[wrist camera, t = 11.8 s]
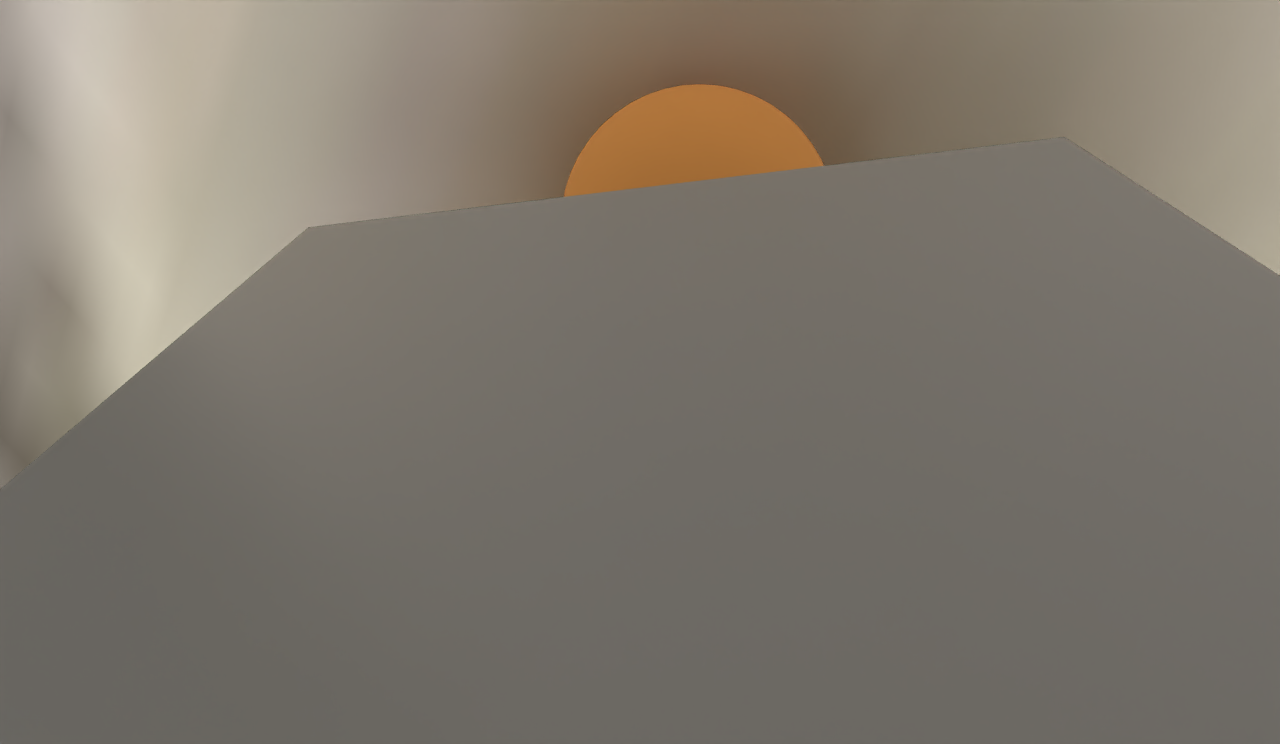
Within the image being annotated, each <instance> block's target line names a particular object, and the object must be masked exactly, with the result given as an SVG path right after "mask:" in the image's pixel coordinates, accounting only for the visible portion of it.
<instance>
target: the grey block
mask: <svg viewBox="0 0 1280 744" xmlns="http://www.w3.org/2000/svg"><path fill="white" fill-rule="evenodd" d="M0 744H1280V275H1278V274H1277V273H1275V272H1273V271H1272V270H1270V269H1269V268H1267V267H1266V266H1264V265H1263V264H1261V263H1259V262H1258V261H1256V260H1255V259H1253V258H1252V257H1250V256H1249V255H1247V254H1245V253H1244V252H1242V251H1241V250H1239V249H1238V248H1236V247H1235V246H1233V245H1231V244H1230V243H1228V242H1227V241H1225V240H1224V239H1222V238H1221V237H1219V236H1217V235H1216V234H1214V233H1213V232H1211V231H1210V230H1208V229H1207V228H1205V227H1204V226H1202V225H1200V224H1199V223H1197V222H1196V221H1194V220H1193V219H1191V218H1190V217H1188V216H1186V215H1185V214H1183V213H1182V212H1180V211H1179V210H1177V209H1176V208H1174V207H1172V206H1171V205H1169V204H1168V203H1166V202H1165V201H1163V200H1162V199H1160V198H1158V197H1157V196H1155V195H1154V194H1152V193H1151V192H1149V191H1148V190H1146V189H1144V188H1143V187H1141V186H1140V185H1138V184H1137V183H1135V182H1134V181H1132V180H1130V179H1129V178H1127V177H1126V176H1124V175H1123V174H1121V173H1120V172H1118V171H1117V170H1115V169H1113V168H1112V167H1110V166H1109V165H1107V164H1106V163H1104V162H1103V161H1101V160H1099V159H1098V158H1096V157H1095V156H1093V155H1092V154H1090V153H1089V152H1087V151H1085V150H1084V149H1082V148H1081V147H1079V146H1078V145H1076V144H1075V143H1073V142H1071V141H1070V140H1068V139H1067V138H1065V137H1060V138H1052V139H1044V140H1035V141H1027V142H1019V143H1010V144H1002V145H993V146H985V147H977V148H968V149H960V150H952V151H943V152H935V153H927V154H918V155H910V156H902V157H893V158H885V159H876V160H868V161H860V162H851V163H843V164H835V165H826V166H818V167H810V168H801V169H793V170H785V171H776V172H768V173H760V174H751V175H743V176H734V177H726V178H718V179H709V180H701V181H693V182H684V183H676V184H668V185H659V186H651V187H643V188H634V189H626V190H617V191H609V192H601V193H592V194H584V195H576V196H567V197H559V198H551V199H542V200H534V201H526V202H517V203H509V204H500V205H492V206H484V207H475V208H467V209H459V210H450V211H442V212H434V213H425V214H417V215H409V216H400V217H392V218H384V219H375V220H367V221H358V222H350V223H342V224H333V225H325V226H317V227H308V228H307V229H306V230H305V231H304V232H302V233H301V234H300V235H299V236H298V237H297V238H295V239H294V240H293V241H292V242H291V243H290V244H288V245H287V246H286V247H285V248H284V249H282V250H281V251H280V252H279V253H278V254H277V255H275V256H274V257H273V258H272V259H271V260H270V261H268V262H267V263H266V264H265V265H264V266H262V267H261V268H260V269H259V270H258V271H257V272H255V273H254V274H253V275H252V276H251V277H250V278H248V279H247V280H246V281H245V282H244V283H242V284H241V285H240V286H239V287H238V288H237V289H235V290H234V291H233V292H232V293H231V294H230V295H228V296H227V297H226V298H225V299H224V300H222V301H221V302H220V303H219V304H218V305H217V306H215V307H214V308H213V309H212V310H211V311H210V312H208V313H207V314H206V315H205V316H204V317H202V318H201V319H200V320H199V321H198V322H197V323H195V324H194V325H193V326H192V327H191V328H189V329H188V330H187V331H186V332H185V333H184V334H182V335H181V336H180V337H179V338H178V339H177V340H175V341H174V342H173V343H172V344H171V345H169V346H168V347H167V348H166V349H165V350H164V351H162V352H161V353H160V354H159V355H158V356H157V357H155V358H154V359H153V360H152V361H151V362H149V363H148V364H147V365H146V366H145V367H144V368H142V369H141V370H140V371H139V372H138V373H137V374H135V375H134V376H133V377H132V378H131V379H129V380H128V381H127V382H126V383H125V384H124V385H122V386H121V387H120V388H119V389H118V390H117V391H115V392H114V393H113V394H112V395H111V396H109V397H108V398H107V399H106V400H105V401H104V402H102V403H101V404H100V405H99V406H98V407H97V408H95V409H94V410H93V411H92V412H91V413H89V414H88V415H87V416H86V417H85V418H84V419H82V420H81V421H80V422H79V423H78V424H77V425H75V426H74V427H73V428H72V429H71V430H69V431H68V432H67V433H66V434H65V435H64V436H62V437H61V438H60V439H59V440H58V441H56V442H55V443H54V444H53V445H52V446H51V447H49V448H48V449H47V450H46V451H45V452H44V453H42V454H41V455H40V456H39V457H38V458H36V459H35V460H34V461H33V462H32V463H31V464H29V465H28V466H27V467H26V468H25V469H24V470H22V471H21V472H20V473H19V474H18V475H16V476H15V477H14V478H13V479H12V480H11V481H9V482H8V483H7V484H6V485H5V486H4V487H2V488H1V489H0Z"/></svg>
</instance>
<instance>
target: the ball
mask: <svg viewBox="0 0 1280 744" xmlns="http://www.w3.org/2000/svg"><path fill="white" fill-rule="evenodd" d="M818 166H824V165H823V162H822V160H821V158H820V156H819V155H818V153H817V151H816V150H815V148H814V146H813V145H812V143H811V142H810V140H809V139H808V138H807V137H806V135H805V134H804V133H803V132H802V130H801V129H800V128H799V127H798V126H797V125H796V124H795V123H794V122H793V121H792V120H791V119H790V118H789V117H787V116H786V115H785V114H784V113H782V112H781V111H780V110H778V109H777V108H775V107H774V106H773V105H771V104H769V103H768V102H766V101H764V100H762V99H760V98H758V97H756V96H754V95H751V94H749V93H746V92H743V91H740V90H738V89H733V88H729V87H724V86H719V85H706V84H694V85H681V86H676V87H671V88H666V89H662V90H659V91H656V92H653V93H650V94H648V95H645V96H643V97H641V98H639V99H637V100H635V101H633V102H631V103H629V104H628V105H627V106H625V107H624V108H622V109H621V110H619V111H618V112H616V113H615V114H614V115H613V116H611V117H610V118H609V119H608V120H607V121H606V122H605V123H604V124H602V125H601V126H600V128H599V129H598V130H597V131H596V132H595V133H594V135H593V136H592V137H591V138H590V139H589V141H588V142H587V144H586V145H585V147H584V148H583V150H582V151H581V153H580V154H579V156H578V158H577V160H576V162H575V164H574V166H573V169H572V171H571V173H570V176H569V179H568V182H567V185H566V188H565V193H564V197H567V196H576V195H584V194H592V193H601V192H609V191H617V190H626V189H634V188H643V187H651V186H659V185H668V184H676V183H684V182H693V181H701V180H709V179H718V178H726V177H734V176H743V175H751V174H760V173H768V172H776V171H785V170H793V169H801V168H810V167H818Z"/></svg>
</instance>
